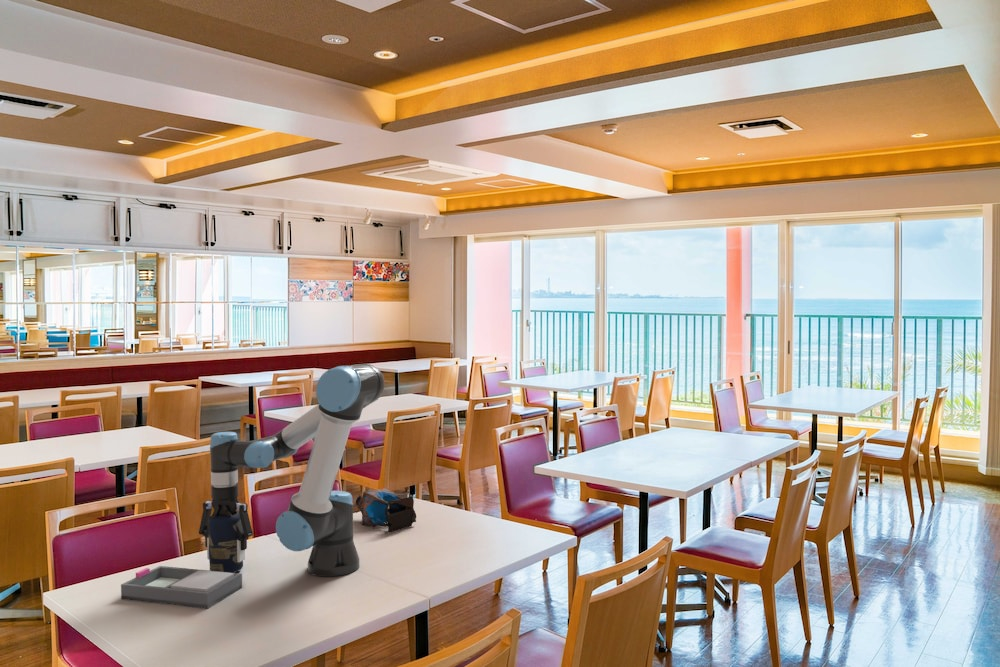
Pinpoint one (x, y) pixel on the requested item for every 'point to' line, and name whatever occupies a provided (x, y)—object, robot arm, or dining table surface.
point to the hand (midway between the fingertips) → (226, 559)
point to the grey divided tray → (181, 586)
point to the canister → (223, 543)
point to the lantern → (386, 509)
